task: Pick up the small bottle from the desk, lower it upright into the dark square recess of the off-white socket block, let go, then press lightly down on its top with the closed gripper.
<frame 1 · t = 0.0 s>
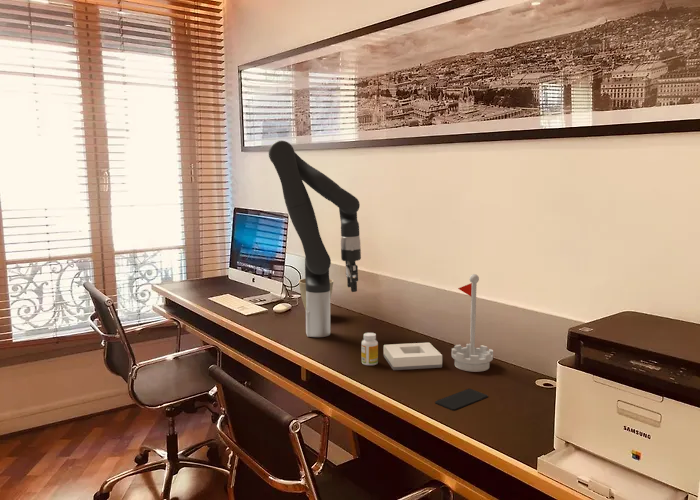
hand: (352, 289, 219), 17 cm above the table, tool pointing down, fingers open, 8 cm apart
flag stand: (471, 366, 183), on the table
socket block: (411, 361, 187), on the table
supplement bottle: (369, 363, 186), on the table
plant pot: (316, 317, 245), on the table
smartphone: (461, 401, 155), on the table
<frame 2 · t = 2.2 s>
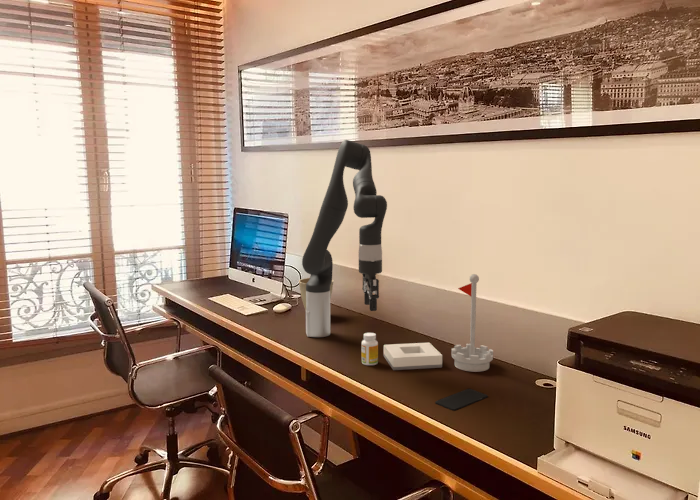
hand: (370, 307, 183), 19 cm above the table, tool pointing down, fingers open, 8 cm apart
nothing on the table moved.
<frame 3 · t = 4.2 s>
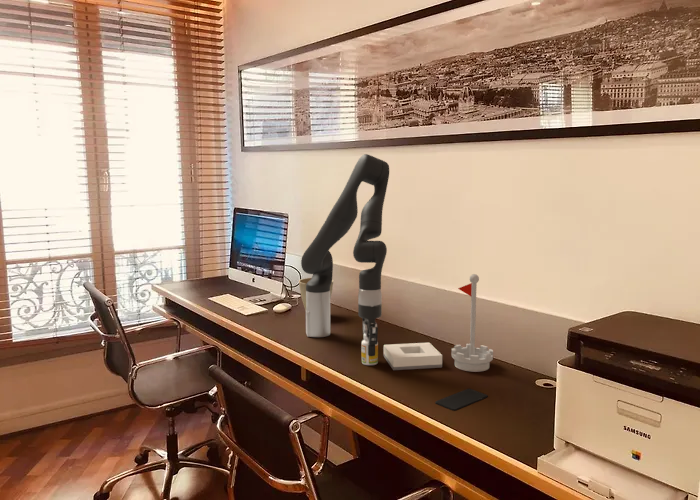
hand: (369, 352, 185), 4 cm above the table, tool pointing down, fingers closed on supplement bottle, 5 cm apart
supplement bottle: (369, 363, 186), on the table, touching gripper
everything else where it was.
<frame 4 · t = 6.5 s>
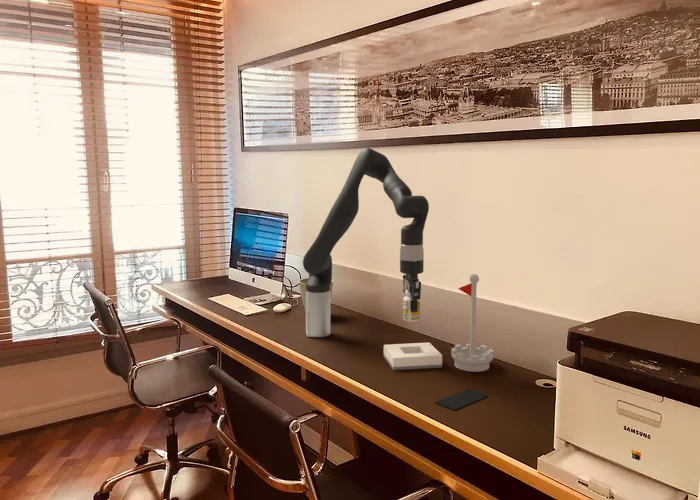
hand: (411, 309, 184), 18 cm above the table, tool pointing down, fingers closed on supplement bottle, 5 cm apart
supplement bottle: (411, 320, 185), point 14 cm above the table, touching gripper
everything else where it was.
when the fingers open (6 cm above the table, at t = 8.9 s): supplement bottle drops 1 cm, resting on socket block.
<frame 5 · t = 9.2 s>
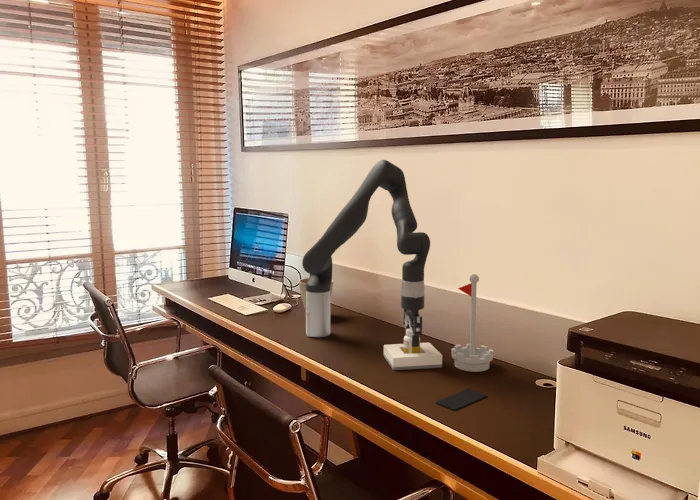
hand: (412, 342, 186), 6 cm above the table, tool pointing down, fingers open, 7 cm apart
supplement bottle: (411, 359, 187), point 1 cm above the table, touching socket block
everything else where it was.
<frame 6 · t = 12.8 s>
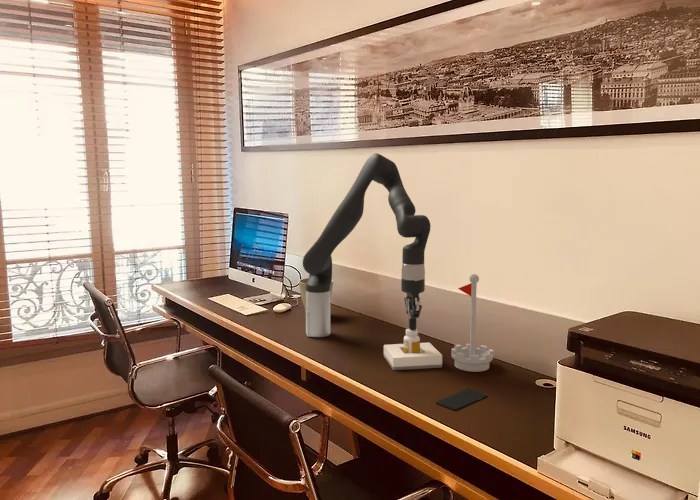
hand: (412, 329, 185), 11 cm above the table, tool pointing down, fingers closed
nothing on the table moved.
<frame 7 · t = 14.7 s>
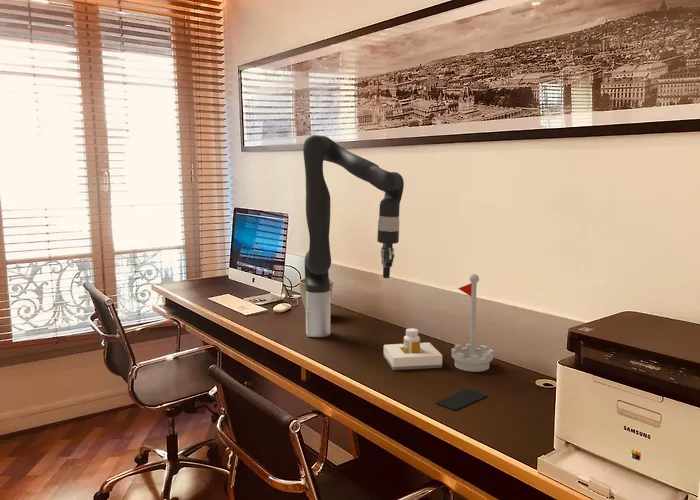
hand: (386, 277, 201), 25 cm above the table, tool pointing down, fingers closed
nothing on the table moved.
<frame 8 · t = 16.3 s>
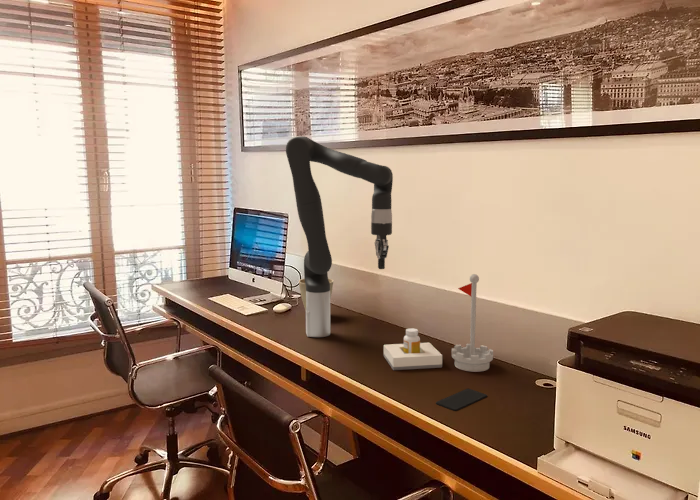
hand: (381, 268, 207), 27 cm above the table, tool pointing down, fingers closed
nothing on the table moved.
at the end: supplement bottle 0.2 cm off-centre on the socket block, point 0.8 cm above the socket block's base; supplement bottle tilted 0°; the gripper is holding nothing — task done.
